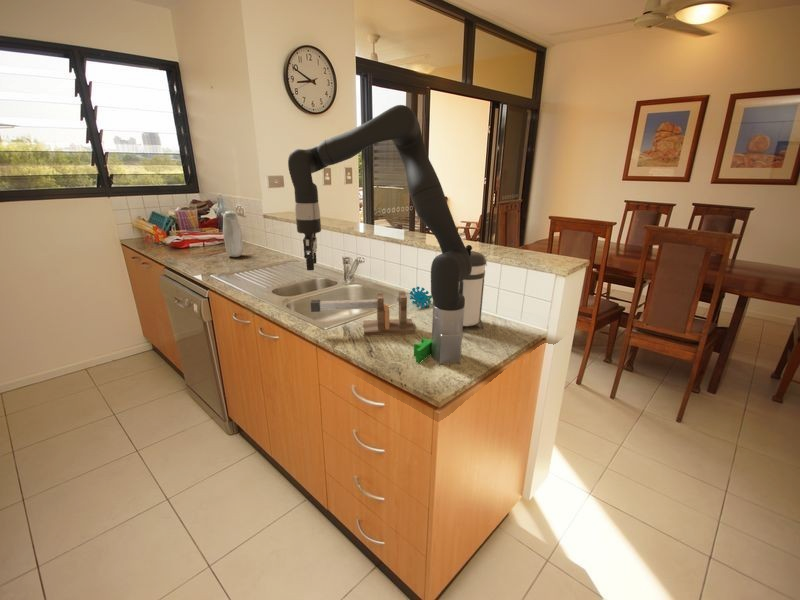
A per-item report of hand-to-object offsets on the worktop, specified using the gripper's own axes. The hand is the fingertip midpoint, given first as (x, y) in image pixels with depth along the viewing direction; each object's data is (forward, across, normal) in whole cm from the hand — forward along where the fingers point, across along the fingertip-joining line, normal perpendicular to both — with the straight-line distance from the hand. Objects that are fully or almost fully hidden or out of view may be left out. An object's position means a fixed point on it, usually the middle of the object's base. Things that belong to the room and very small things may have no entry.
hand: (312, 266), depth 124 cm
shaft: (+16, 0, -10) cm, 19 cm away
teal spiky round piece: (+24, +22, -41) cm, 53 cm away
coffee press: (+24, +1, -52) cm, 58 cm away
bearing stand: (+24, 0, -26) cm, 35 cm away
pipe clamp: (+24, -20, -35) cm, 47 cm away
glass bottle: (+24, +116, +60) cm, 133 cm away
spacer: (+22, 0, -25) cm, 33 cm away
